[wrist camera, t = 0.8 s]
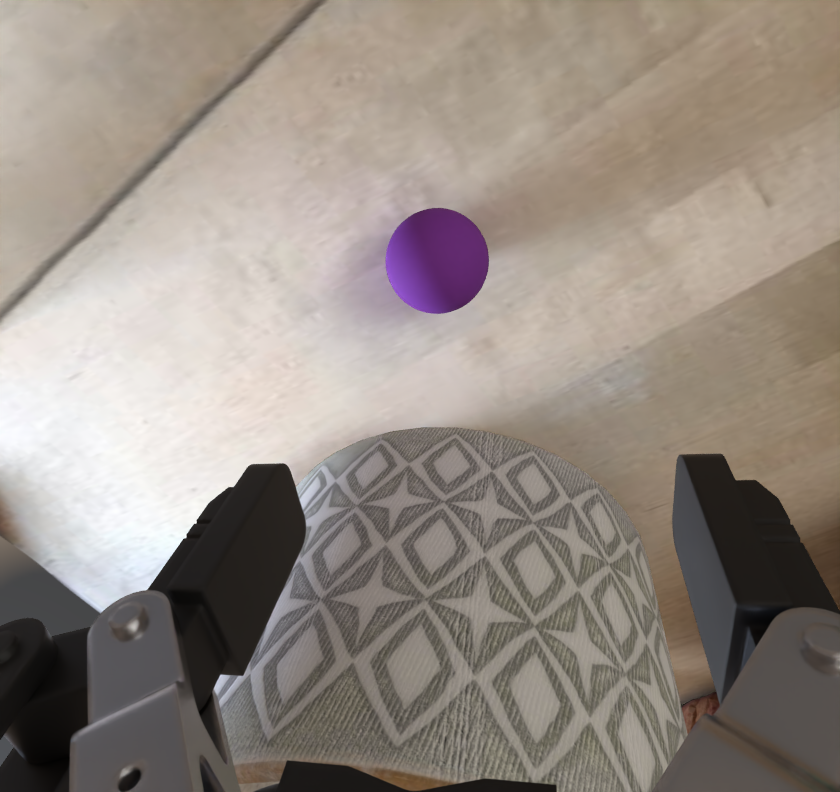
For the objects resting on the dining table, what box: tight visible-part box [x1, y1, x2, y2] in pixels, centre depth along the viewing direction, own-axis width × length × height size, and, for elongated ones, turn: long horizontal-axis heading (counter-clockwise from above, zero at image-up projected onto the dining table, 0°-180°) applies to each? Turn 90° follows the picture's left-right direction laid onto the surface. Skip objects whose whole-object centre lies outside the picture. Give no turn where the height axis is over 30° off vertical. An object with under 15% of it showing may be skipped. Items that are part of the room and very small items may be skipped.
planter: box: [214, 428, 688, 792], centre depth 34 cm, size 26×26×22 cm
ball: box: [386, 208, 489, 314], centre depth 30 cm, size 5×5×5 cm
